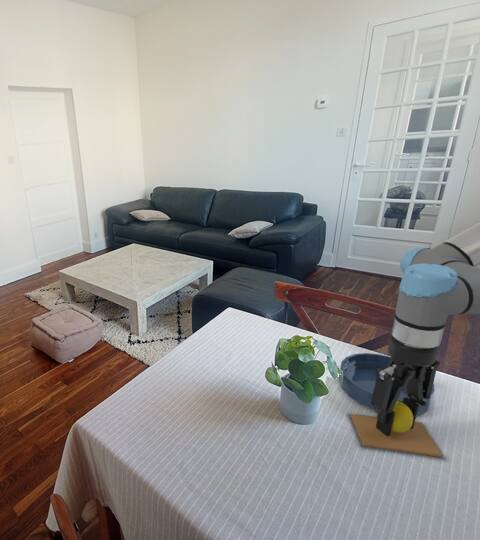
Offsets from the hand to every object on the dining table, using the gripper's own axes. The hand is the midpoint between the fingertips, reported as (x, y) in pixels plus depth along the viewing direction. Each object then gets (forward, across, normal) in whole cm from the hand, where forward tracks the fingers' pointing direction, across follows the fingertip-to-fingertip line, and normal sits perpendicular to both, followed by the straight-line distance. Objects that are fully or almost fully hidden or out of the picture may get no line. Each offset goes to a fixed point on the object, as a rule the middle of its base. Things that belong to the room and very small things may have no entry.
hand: (394, 427), depth 76 cm
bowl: (+2, -10, -12) cm, 16 cm away
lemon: (+1, 0, 0) cm, 1 cm away
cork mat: (+2, 0, 0) cm, 2 cm away
